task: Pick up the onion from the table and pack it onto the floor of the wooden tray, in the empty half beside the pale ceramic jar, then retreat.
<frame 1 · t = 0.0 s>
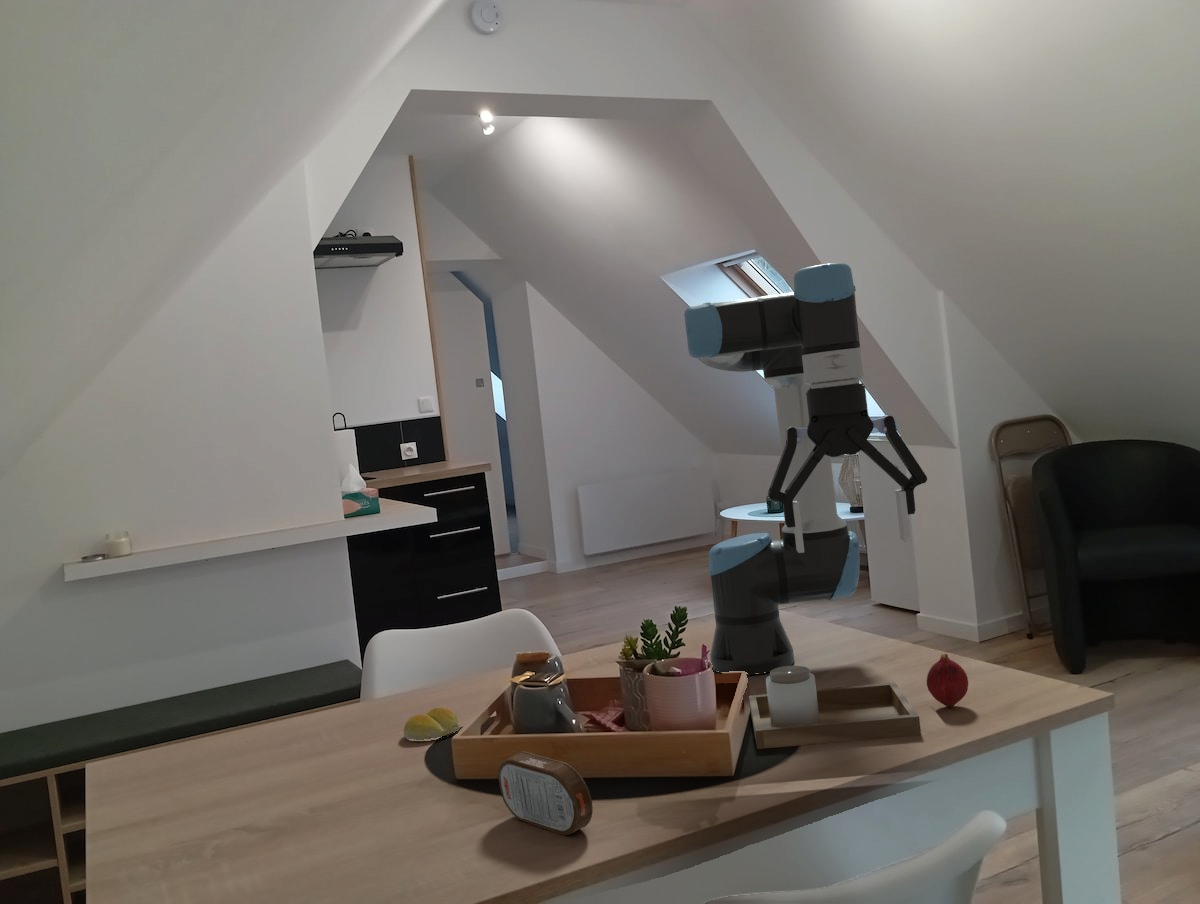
hand: (852, 545, 131), 28 cm above the table, tool pointing down, fingers open, 13 cm apart
jar: (795, 725, 144), point 1 cm above the table, touching wooden tray
yellow rounded lump: (433, 735, 164), on the table
onion: (950, 708, 147), on the table
wooden tray: (831, 729, 143), on the table
tin: (547, 827, 122), on the table
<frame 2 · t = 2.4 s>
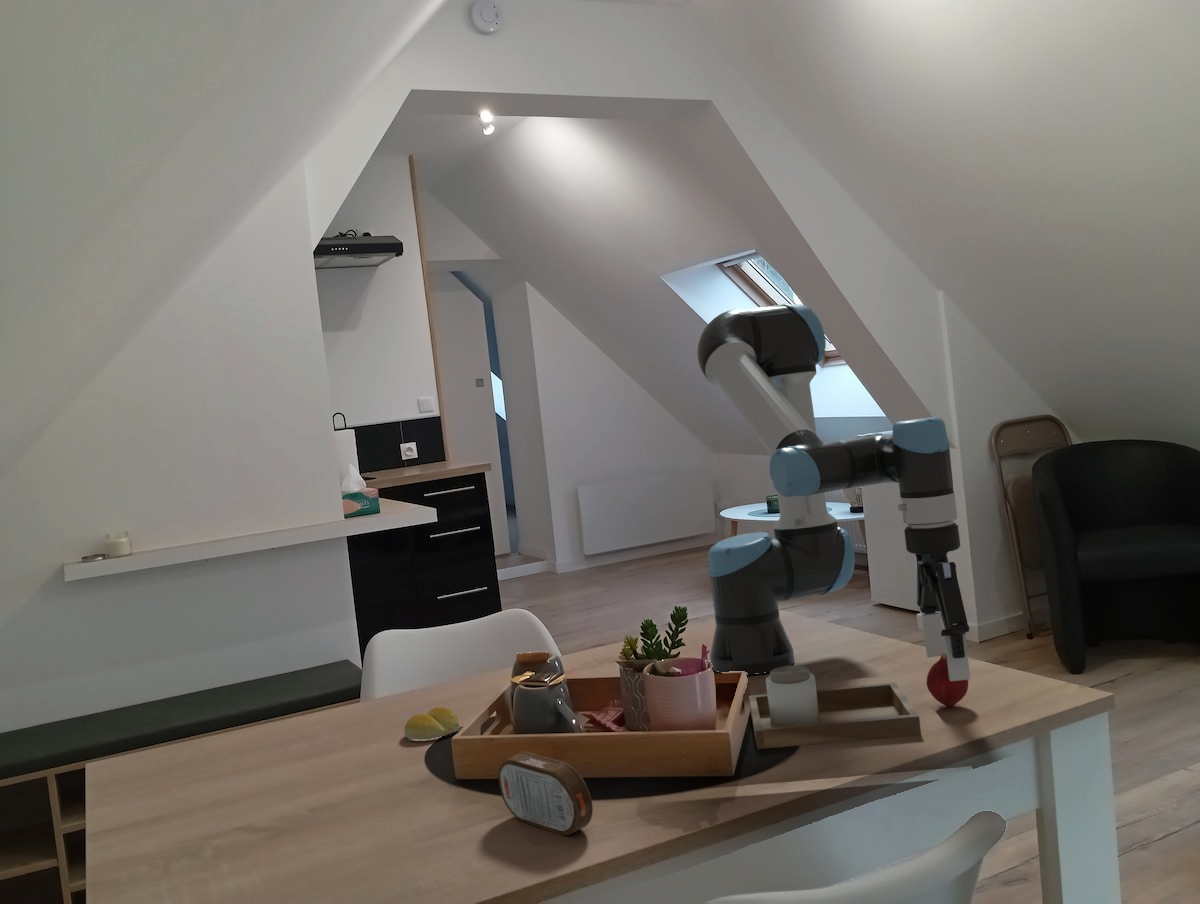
hand: (947, 667, 146), 6 cm above the table, tool pointing down, fingers open, 13 cm apart
nothing on the table moved.
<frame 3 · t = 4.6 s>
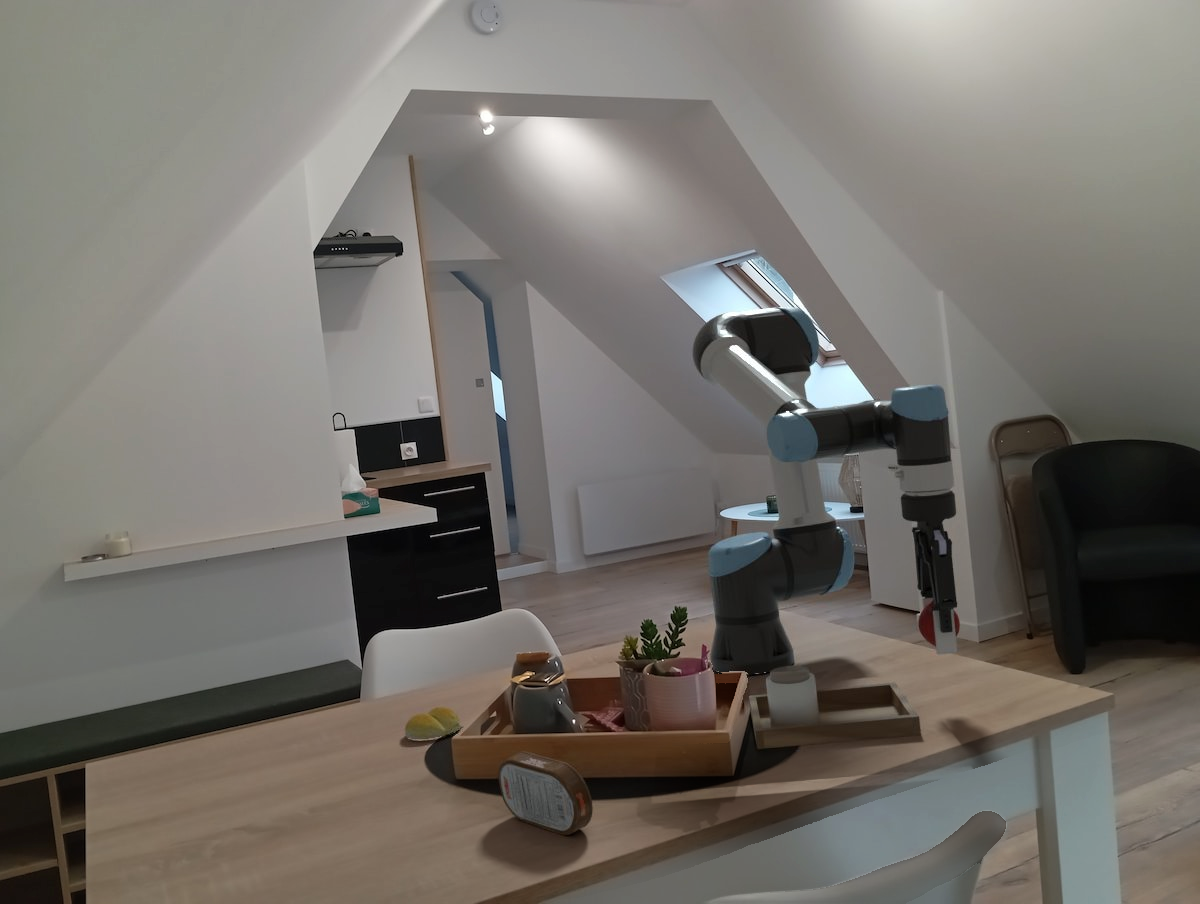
hand: (941, 646, 147), 9 cm above the table, tool pointing down, fingers closed on onion, 6 cm apart
onion: (941, 650, 147), point 8 cm above the table, touching gripper
everything else where it was.
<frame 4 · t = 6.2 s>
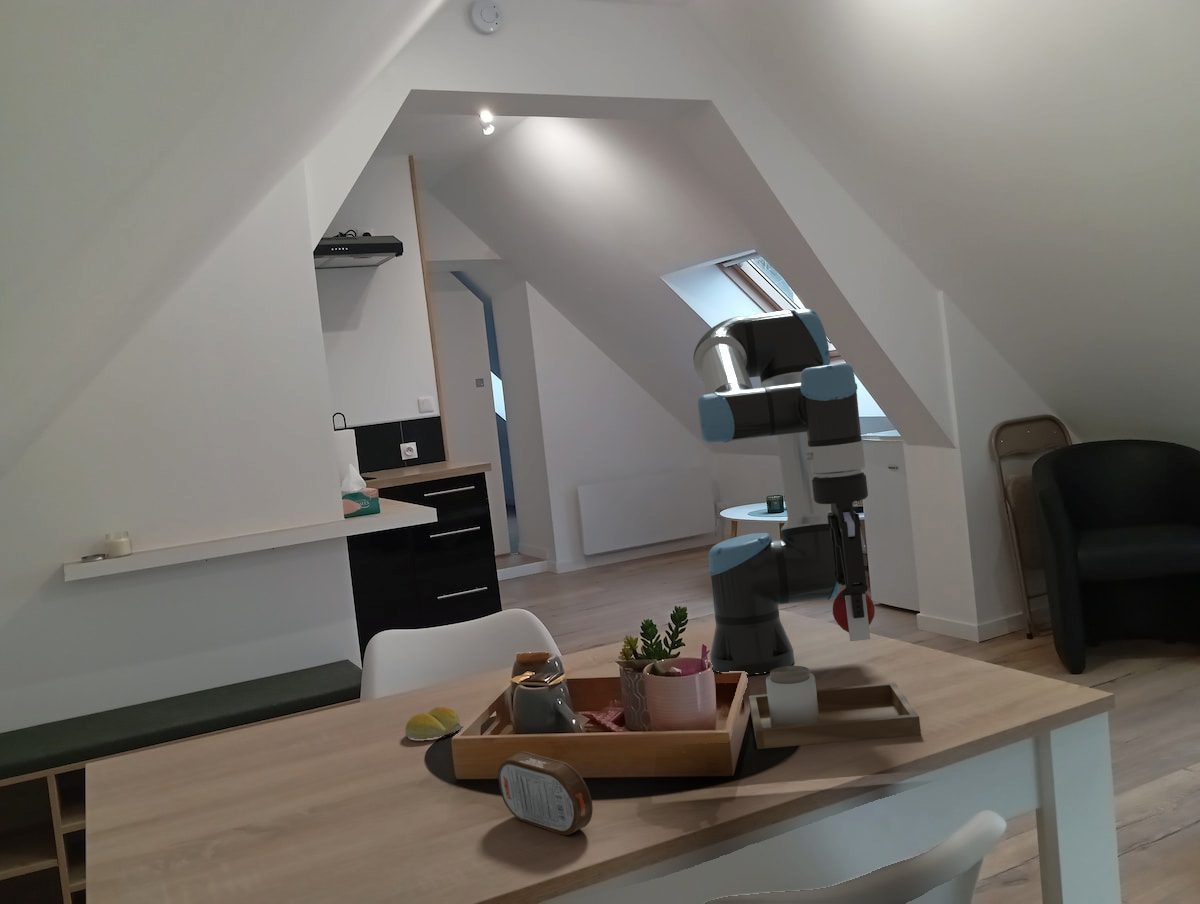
hand: (856, 633, 142), 14 cm above the table, tool pointing down, fingers closed on onion, 6 cm apart
onion: (856, 637, 142), point 13 cm above the table, touching gripper
everything else where it was.
when the fingers open (3 cm above the table, at t = 8.2 s): onion drops 2 cm, resting on wooden tray.
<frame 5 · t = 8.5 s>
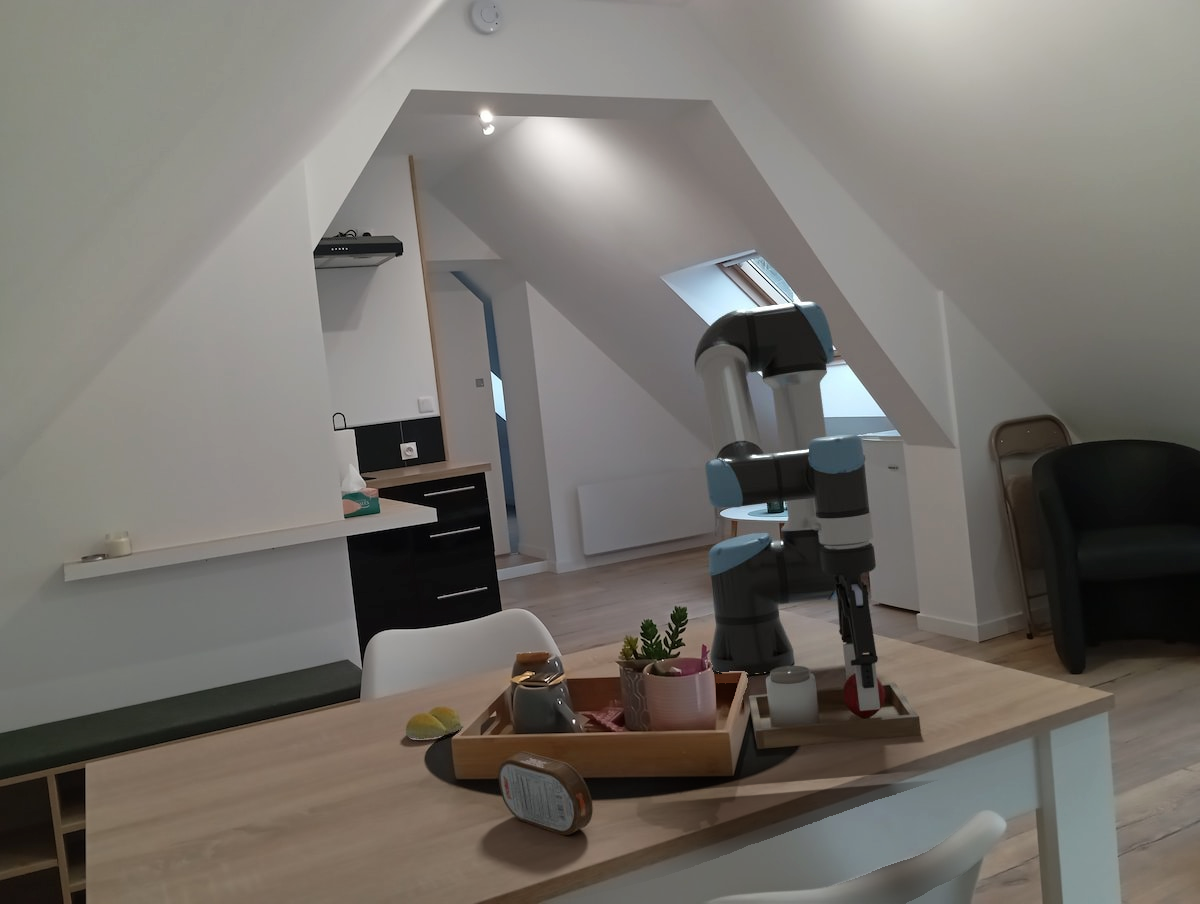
hand: (863, 697, 143), 4 cm above the table, tool pointing down, fingers open, 10 cm apart
onion: (865, 720, 143), point 1 cm above the table, touching wooden tray
everything else where it was.
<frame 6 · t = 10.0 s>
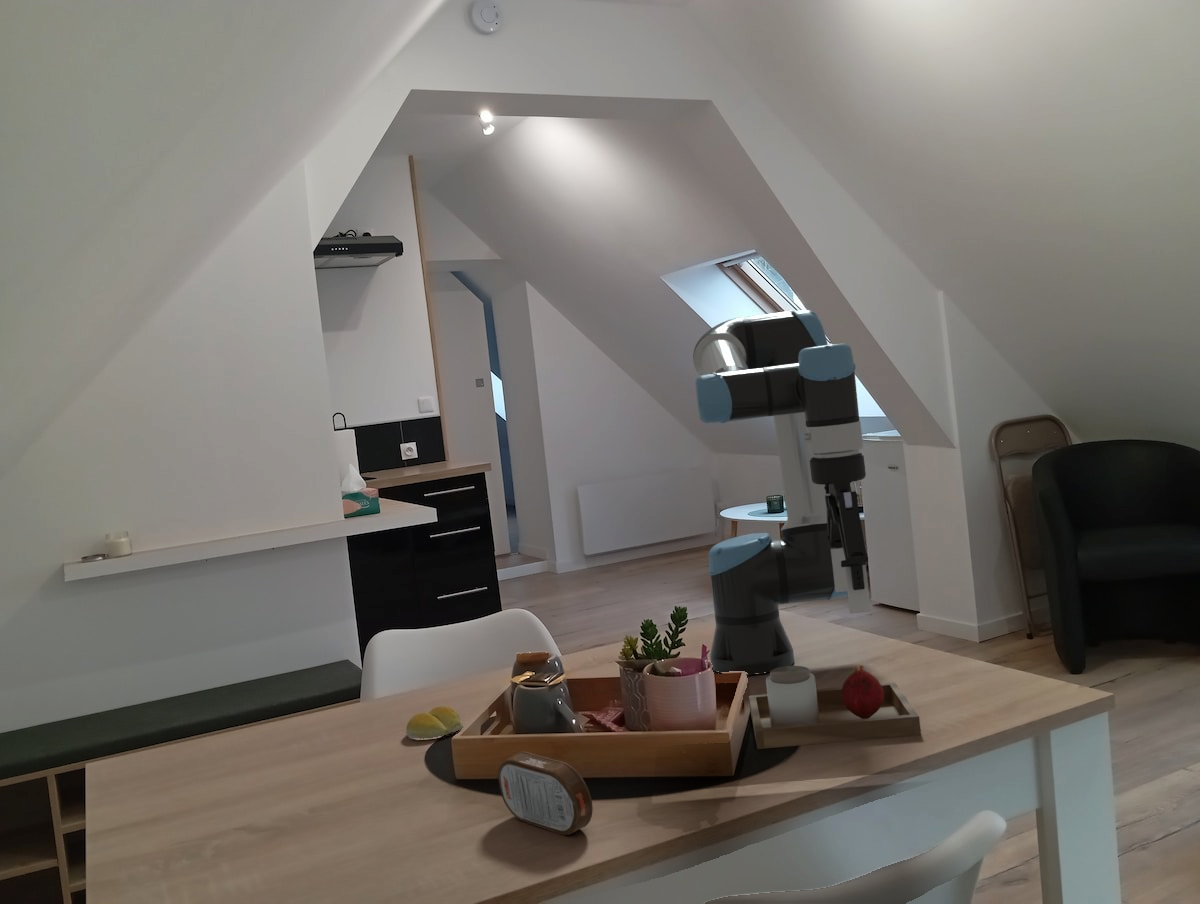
hand: (852, 601, 142), 18 cm above the table, tool pointing down, fingers open, 13 cm apart
nothing on the table moved.
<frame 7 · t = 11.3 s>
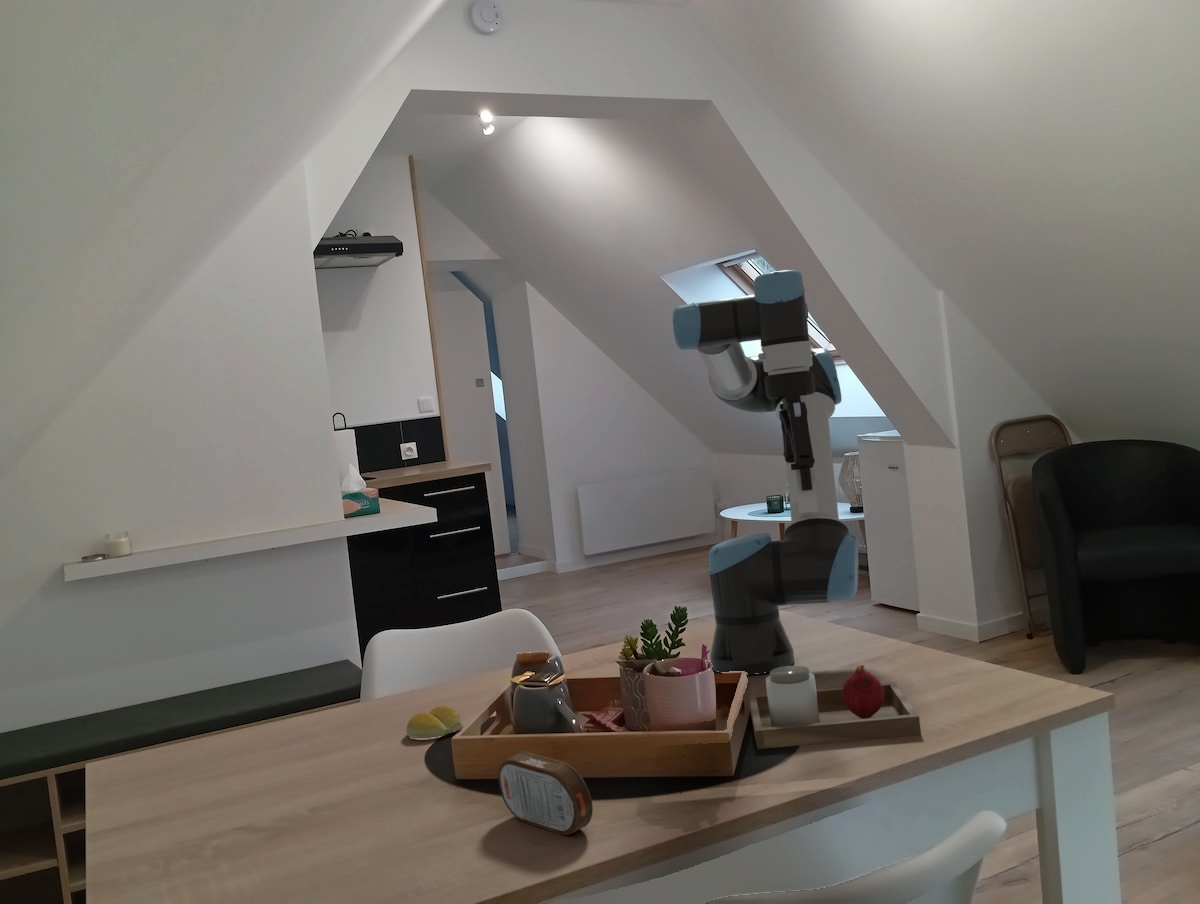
hand: (803, 507, 156), 31 cm above the table, tool pointing down, fingers open, 13 cm apart
nothing on the table moved.
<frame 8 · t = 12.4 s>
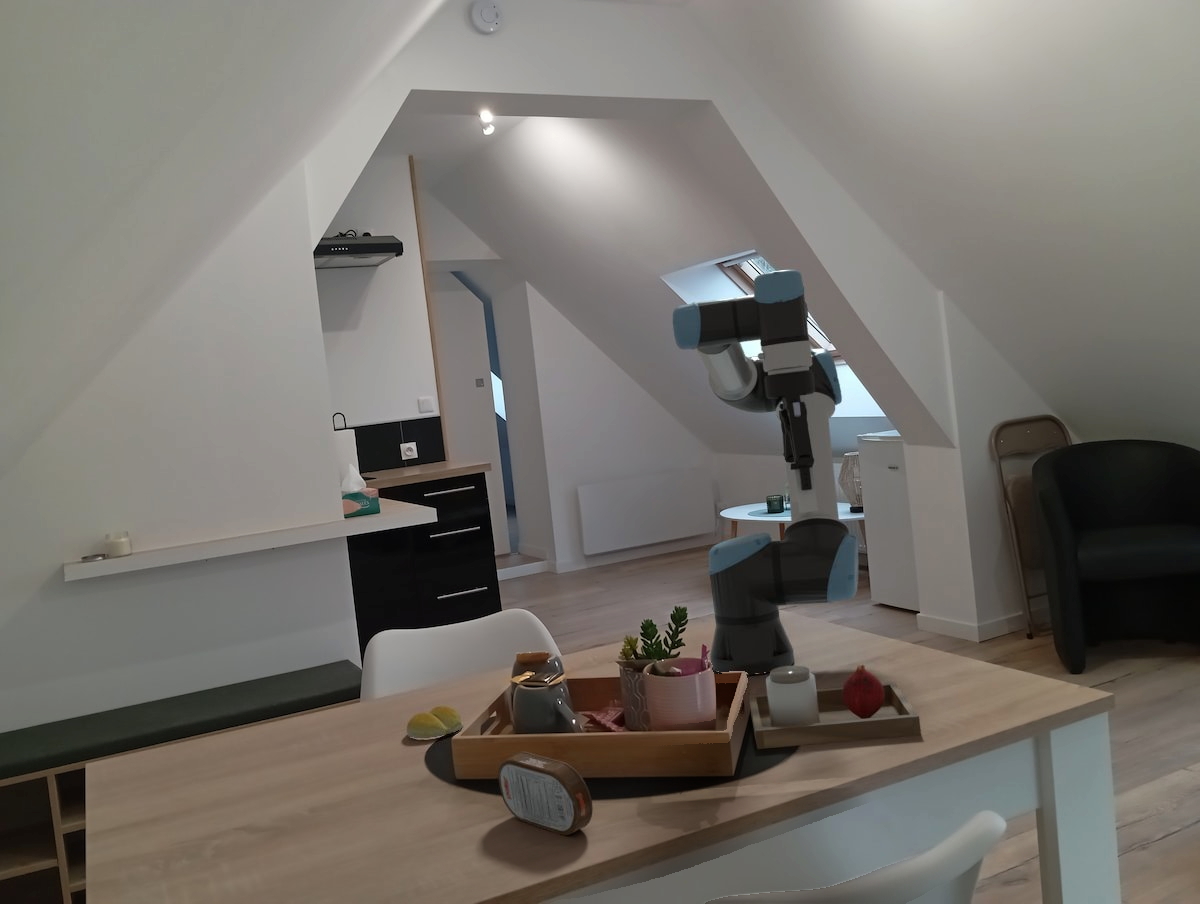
hand: (803, 506, 156), 31 cm above the table, tool pointing down, fingers open, 13 cm apart
nothing on the table moved.
at the end: onion inside the target area on the wooden tray (0.3 cm from its centre), point 0.8 cm above the wooden tray's base; the gripper is holding nothing; jar moved 0.2 cm from its start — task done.
